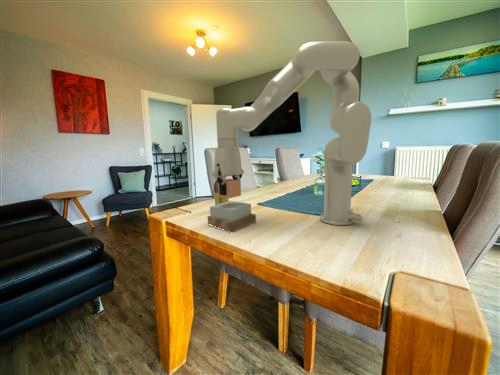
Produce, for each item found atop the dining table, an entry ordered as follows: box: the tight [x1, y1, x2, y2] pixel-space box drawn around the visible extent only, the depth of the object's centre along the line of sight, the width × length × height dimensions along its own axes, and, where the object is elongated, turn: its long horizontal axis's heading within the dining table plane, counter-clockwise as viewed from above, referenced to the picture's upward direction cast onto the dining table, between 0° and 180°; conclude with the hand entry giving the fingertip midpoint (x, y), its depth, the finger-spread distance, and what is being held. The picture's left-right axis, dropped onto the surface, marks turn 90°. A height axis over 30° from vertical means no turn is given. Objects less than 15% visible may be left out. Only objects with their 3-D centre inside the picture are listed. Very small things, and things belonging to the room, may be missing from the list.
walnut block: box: [207, 213, 257, 233], centre depth 84 cm, size 13×13×4 cm
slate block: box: [209, 200, 252, 222], centre depth 83 cm, size 11×11×4 cm
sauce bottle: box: [213, 176, 230, 205], centre depth 97 cm, size 7×6×20 cm
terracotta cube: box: [218, 178, 242, 199], centre depth 81 cm, size 6×6×6 cm
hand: (229, 193), depth 82 cm, fingers closed on terracotta cube, 6 cm apart
